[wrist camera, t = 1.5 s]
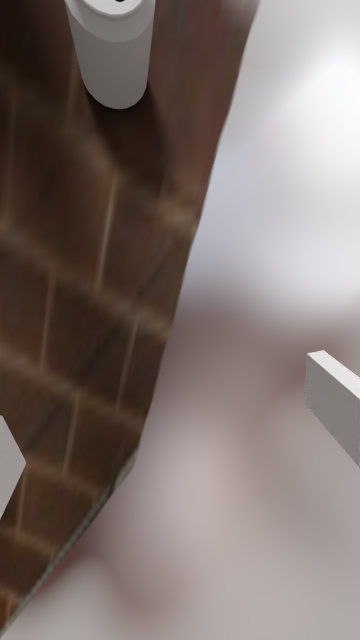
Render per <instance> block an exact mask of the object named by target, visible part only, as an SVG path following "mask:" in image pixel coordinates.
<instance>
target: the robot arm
mask: <svg viewBox="0 0 360 640" xmlns="http://www.w3.org/2000/svg"><path fill="white" fill-rule="evenodd" d="M305 404H306V405H307V406H308V408H309V409H310V410H311V411H312V412H313V413H314V415H315V416H316V417H317V418H318V419H319V421H320V422H321V423H322V424H323V425H324V426H325V427H326V429H327V430H328V431H329V432H330V433H331V435H332V436H333V437H334V438H335V439H336V440H337V442H338V443H339V444H340V445H341V446H342V448H343V449H344V450H345V451H346V452H347V453H348V454H349V456H350V457H351V458H352V459H353V460H354V462H355V463H356V464H357V465H358V466H359V468H360V378H359V377H358V376H356V375H355V374H354V373H352V372H351V371H350V370H349V369H347V368H346V367H345V366H343V365H342V364H341V363H339V362H338V361H337V360H335V359H334V358H333V357H331V356H330V355H329V354H327V353H326V352H325V351H318V352H314V353H309V354H307V366H306V390H305ZM25 465H26V461H25V459H24V457H23V455H22V453H21V451H20V450H19V448H18V446H17V444H16V442H15V440H14V438H13V436H12V434H11V432H10V430H9V428H8V426H7V424H6V422H5V421H4V419H3V417H2V415H1V416H0V519H1V517H2V514H3V512H4V510H5V508H6V506H7V504H8V501H9V499H10V497H11V495H12V493H13V491H14V489H15V486H16V484H17V482H18V480H19V478H20V476H21V473H22V471H23V469H24V467H25Z"/></svg>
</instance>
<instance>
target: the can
mask: <svg viewBox="0 0 360 640" xmlns="http://www.w3.org/2000/svg"><path fill="white" fill-rule="evenodd" d="M64 1H65V6H66V10H67V14H68V19H69V23H70V28H71V32H72V36H73V41H74V45H75V49H76V54H77V58H78V63H79V67H80V71H81V76H82V80H83V82H84V84H85V86H86V88H87V90H88V92H89V93H90V94H91V95H92V96H93V97H94V98H95V99H96V100H97V101H98V102H100V103H101V104H103V105H104V106H106V107H110V108H114V109H126V108H128V107H130V106H132V105H135V104H136V103H137V102H138V101H139V100H140V99H141V98H142V96H143V94H144V91H145V89H146V84H147V76H148V66H149V57H150V47H151V38H152V28H153V18H154V9H155V0H64Z"/></svg>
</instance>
